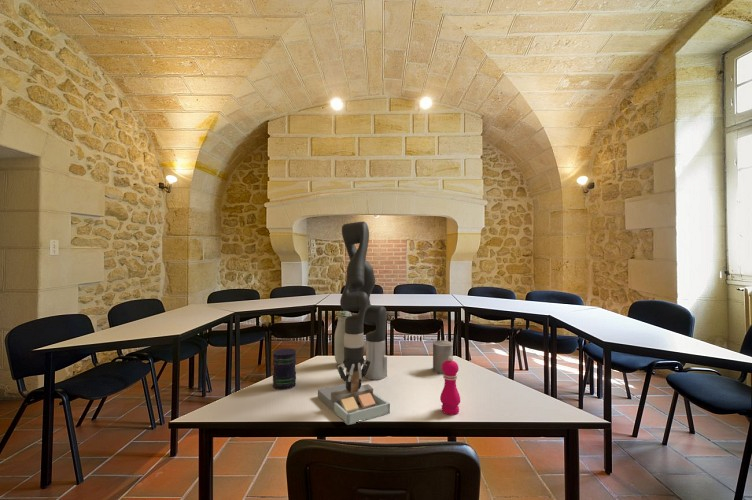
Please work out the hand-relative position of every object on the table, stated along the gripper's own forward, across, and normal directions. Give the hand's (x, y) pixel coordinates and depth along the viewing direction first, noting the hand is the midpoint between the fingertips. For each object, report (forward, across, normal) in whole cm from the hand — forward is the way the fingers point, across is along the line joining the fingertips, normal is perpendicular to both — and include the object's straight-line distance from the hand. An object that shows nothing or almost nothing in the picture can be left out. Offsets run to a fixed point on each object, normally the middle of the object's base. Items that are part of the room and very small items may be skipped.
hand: (353, 389), depth 131 cm
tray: (+6, 0, +7) cm, 9 cm away
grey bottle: (+8, -18, -46) cm, 50 cm away
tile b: (+4, +4, +3) cm, 7 cm away
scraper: (+3, 0, -1) cm, 3 cm away
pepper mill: (+6, -29, +22) cm, 37 cm away
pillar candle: (+7, -56, -13) cm, 58 cm away
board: (+7, 0, -7) cm, 9 cm away
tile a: (+4, -4, +3) cm, 7 cm away
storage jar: (+8, +17, -34) cm, 38 cm away
